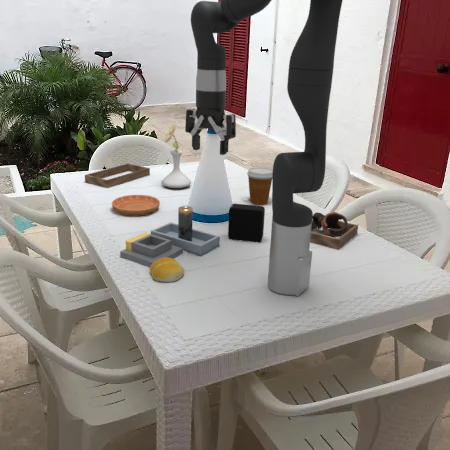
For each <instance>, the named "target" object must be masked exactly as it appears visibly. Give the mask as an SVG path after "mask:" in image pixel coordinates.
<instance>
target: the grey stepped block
mask: <svg viewBox="0 0 450 450" xmlns="http://www.w3.org/2000/svg"><path fill="white" fill-rule="evenodd" d="M183 254H184V251H183V248H180V247H177V246H174V245H172V241H171V240H168V239H165V238H162V237H158V236H155V235H152V234H151V232H146V231H145V232H142V233H140V234H138V235H136V236H133V237H131V238H130V239H127V240H125V249H122V250H121V251H120V252H119V255H120V258H122V259H123V258H124V259H127V260H129V261H132V262H134V263H137V264H140V265H143V266H146V267H149V268H150V266H151V264H152V263H153V262H154V261H156V260H158V259H160V258H164V257H169V258H173V259H175V258H177V257H179V256H181V255H183Z"/></svg>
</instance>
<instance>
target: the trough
mask: <svg viewBox="0 0 450 450" xmlns="http://www.w3.org/2000/svg"><path fill="white" fill-rule="evenodd" d="M150 234H152V235H155V236H158V237H162V238H165V239H168V240H171V241H172V245H174V246H177V247H180V248H183V252H187V253H190V254H193V255H195V256H198V257H202V256H204V255H205V254H208V253H209V252H211V251H212V250H215V249H216V248H218V247H220V241H221V240H220V238H221V237H220V235H217V234H213V233H210V232H206V231H203V230H199V229H195V228H192V242H190V241H187V240H184V239H180V238H178V223H176V222H175V223H174V222H168V223H165V224H164V225H161V226H159V227H156V228H153V229H152V230H150Z"/></svg>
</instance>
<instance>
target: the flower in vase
mask: <svg viewBox="0 0 450 450" xmlns="http://www.w3.org/2000/svg"><path fill="white" fill-rule="evenodd" d="M176 129H177V125H176V123H172V124H171V126H169V128H168V130H167V132H166V133H165V138H164V139H163V141H164V143H168V142H170V141H171V139H172V137H173V139H174V142H173V143H172V146H173V148H175V149H174V150H170V151H169V154H171V155H172V159H173V169H172V171H171V172H170V173H168V174H167V175H166V176H165V177H164V178H163V179H162V180H161V184H162V185H163V186H165V187H166V188H171V189H182V188H186V187H189V186H191V184H192V181H191V179H190V178H189V177H188V176H187V175H186V174H184V173H183V172H182V171H181V168H180V162H181V161H180V160H181V156H182V154H183V153H184V152H183V150H179V148H180V146H179V145H180V144H179V143H178V141H177V138H176V136H175V135H174V134H175V132H176Z"/></svg>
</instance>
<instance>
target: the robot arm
mask: <svg viewBox="0 0 450 450" xmlns="http://www.w3.org/2000/svg"><path fill="white" fill-rule="evenodd" d="M272 1H273V0H220V1H208V0H200V1H198V2H196V3H195V4H194V5H193V7H192V10H191V14H190V25H191V30H192V35H193V38H194V44H195V47H196V52H197V54H196V55H197V56H196V57H197V59H196V60H197V63H196V64H197V66H196V68H197V70H196V75H195V106H196V109H195V108H190V109H186V112H185V127H184V128H185V130H184V131H185V133H188V134H190V135H191V147H192V150H193V151H199V150H200V149H201V135H200V133H201V132H202V131H203V130H207V129H208V130H212V131H213V130H214V132H215V133H216V134H217V135H218V137H219V139H220V141H219V155H220V156H224V155H227V153H228V152H229V142H230V140H231V139H235V138H236V137H237V136H236V135H237V131H236V130H237V129H236V123H237V122H236V118H237V117H236V116H237V115H236V114H235V113H232V114H231V113H230V114H226V112H225V109H226V102H227V101H226V100H227V99H226V97H227V93H226V92H227V74H226V68H227V67H226V61H227V51H226V47H225V46H224V45H223V44H221V43H218V42H216V40H215V37H214V34H224V33H225V34H226V33H228V32H229V31H232V30H233V29H234V28H236V27H237V26H238V25H239V24H240V23H241V22H242V21H244V20H246V19H248V18H250V17H253V16H255V15H256V14H258V13H260V12H261V11H263V10H264V9H265V8H266V7H268V6H269V5H270V3H271V2H272ZM342 5H343V0H310V2H309V11H308V16H307V19H306V21H305V25H304V26H303V29H302V31H301V33H300V35H299V36H298V39H297V40H296V42H295V44H294V47H293V49H292V52H291V53H290V57H289V58H290V59H289V65H288V71H287V72H288V75H287V85H286V86H287V87H286V90H287V94H288V98H289V101H290V102H291V105H292V106H293V109H294V110H295V113H296V114H297V116H298V119H299V120H300V122H301V125H302V128H303V132H304V150H303V151H294V152H293V151H290V152H281V153H278V154H277V155H276V157H275V158H274V161H273V164H272V170H273V175H272V183H271V187H272V188H271V189H272V190H271V191H272V192H271V193H272V194H271V207H272V208H271V210H272V211H271V212H272V216H271V217H272V218H271V232H270V233H271V234H270V247H269V261H268V276H267V287H268V288H269V289H270V290H271V291H272V292H274V293H276V294H279V295H280V294H281V295H286V296H296V297H299V296H300V295H301V294H302V293H304V292H305V291H306V290H307V289H308V288H309V286H310V281H311V280H310V278H311V268H312V258H313V251H311V250H310V247H311V242H310V237H311V232H312V231H311V228H312V220H313V215H314V213H313V210H312V208H311V207H309V206H307V205H305V204H302V203H299V202H296V201H294V194H303V193H306V194H307V193H315V192H318V191H319V190H320V189H321V188H322V186H323V183H324V181H325V177H326V176H325V175H326V165H327V163H326V162H327V160H326V159H327V157H326V156H327V130H328V129H327V126H328V125H327V124H328V117H329V116H328V115H329V107H330V98H331V92H332V83H333V76H334V75H333V74H334V65H335V52H336V46H337V37H338V31H339V30H338V28H339V22H340V15H341V10H342ZM196 119H197V121H196ZM224 122H225V123H226V124H225V123H224Z"/></svg>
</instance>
